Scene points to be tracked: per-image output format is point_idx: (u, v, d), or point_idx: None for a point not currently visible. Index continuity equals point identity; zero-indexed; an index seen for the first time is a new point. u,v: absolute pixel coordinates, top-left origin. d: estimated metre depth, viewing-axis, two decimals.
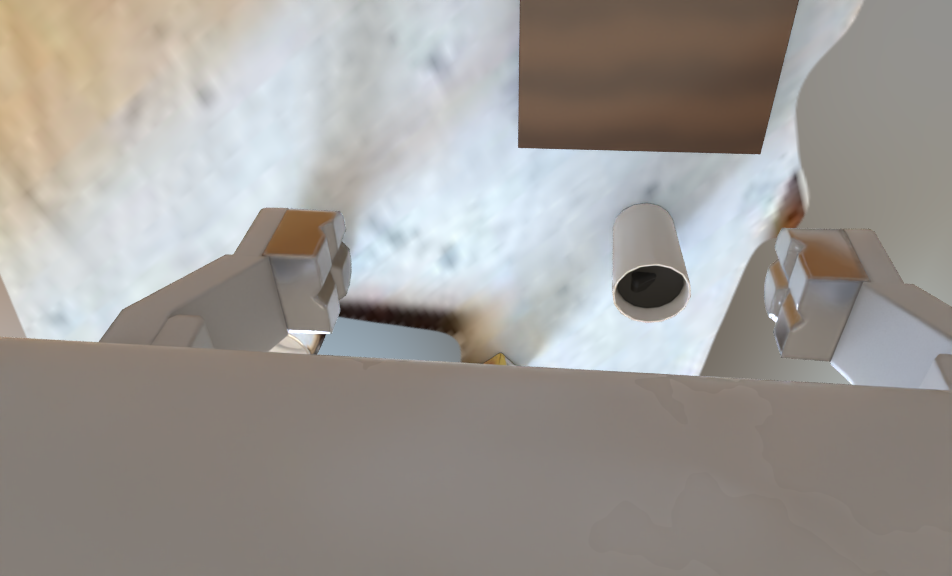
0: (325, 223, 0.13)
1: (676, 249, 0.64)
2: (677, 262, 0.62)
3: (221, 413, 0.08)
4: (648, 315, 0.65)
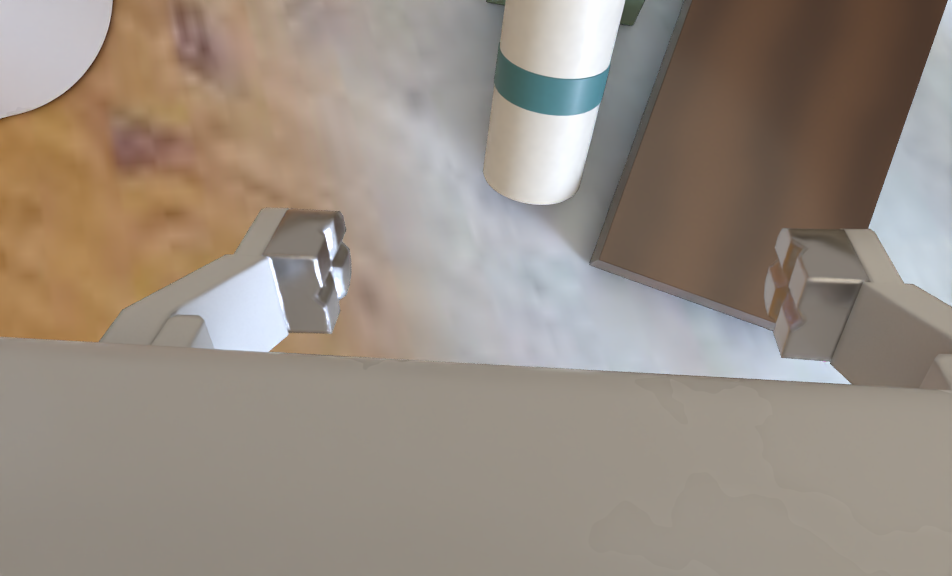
0: (325, 223, 0.13)
1: None
2: None
3: (221, 413, 0.08)
4: None
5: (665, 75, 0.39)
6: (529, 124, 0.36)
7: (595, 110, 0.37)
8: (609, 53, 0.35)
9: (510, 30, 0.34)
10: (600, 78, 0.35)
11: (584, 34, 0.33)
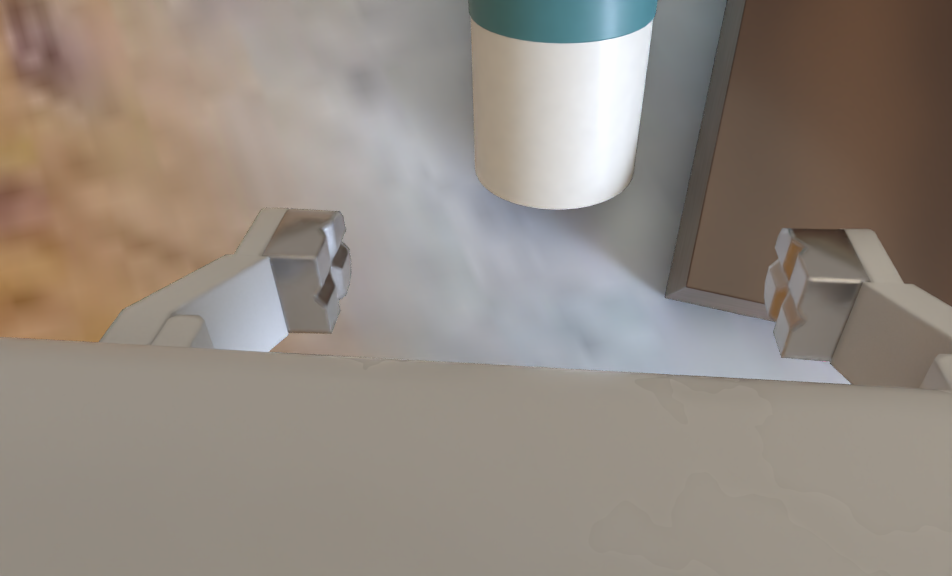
0: (325, 223, 0.13)
1: None
2: None
3: (221, 413, 0.08)
4: None
5: None
6: (537, 66, 0.21)
7: (647, 32, 0.21)
8: None
9: None
10: None
11: None
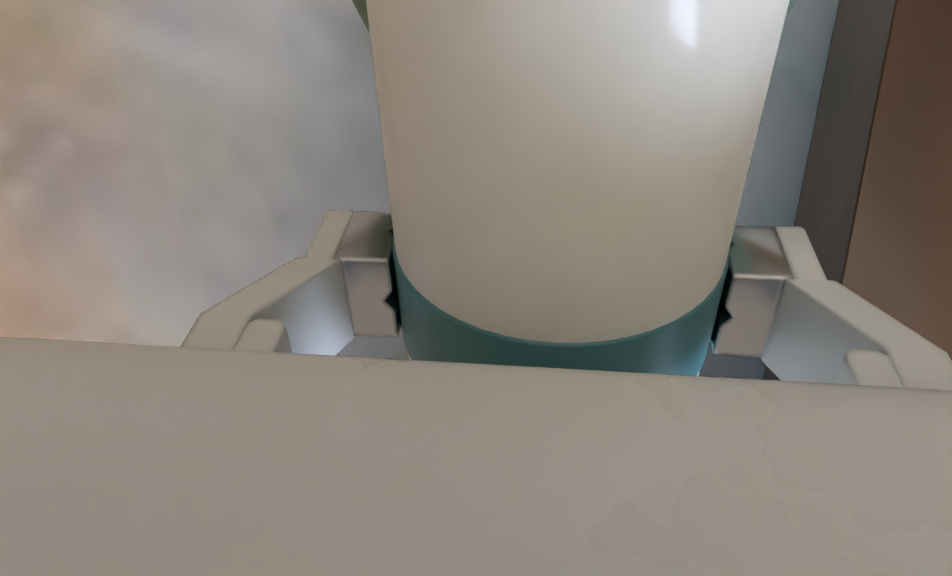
0: None
1: None
2: None
3: (221, 413, 0.08)
4: None
5: (852, 225, 0.15)
6: None
7: None
8: (731, 231, 0.11)
9: (402, 207, 0.11)
10: (711, 303, 0.11)
11: (652, 206, 0.09)
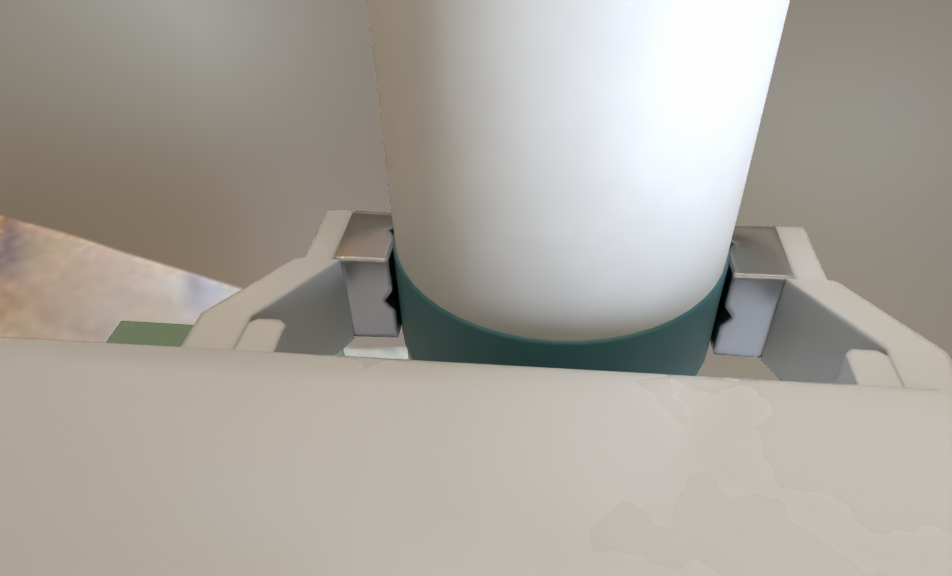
0: None
1: None
2: None
3: (221, 413, 0.08)
4: None
5: None
6: None
7: (696, 375, 0.13)
8: (732, 229, 0.11)
9: (402, 205, 0.11)
10: (711, 301, 0.11)
11: (653, 203, 0.09)
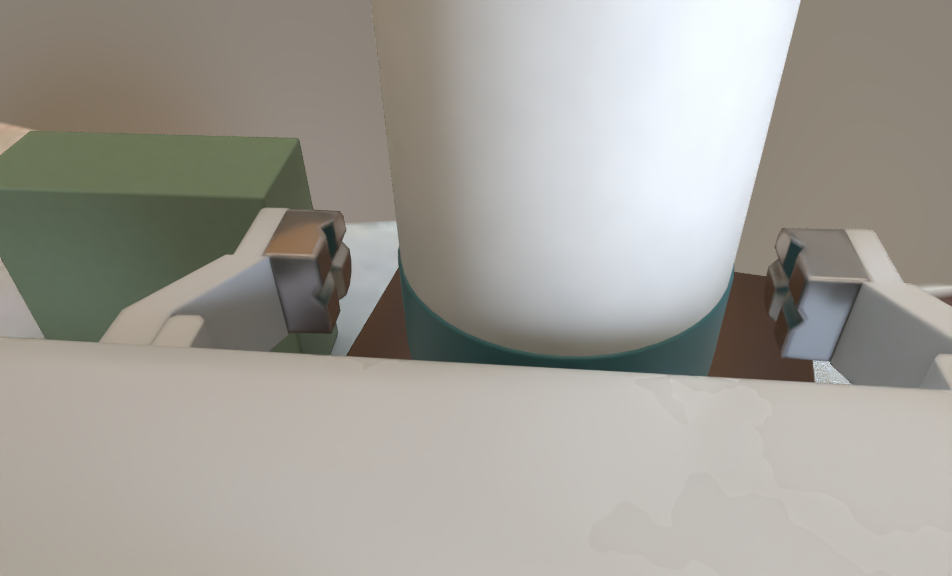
0: (325, 222, 0.13)
1: None
2: None
3: (221, 413, 0.08)
4: None
5: None
6: None
7: None
8: (737, 244, 0.11)
9: (408, 220, 0.11)
10: (716, 314, 0.11)
11: (660, 222, 0.09)
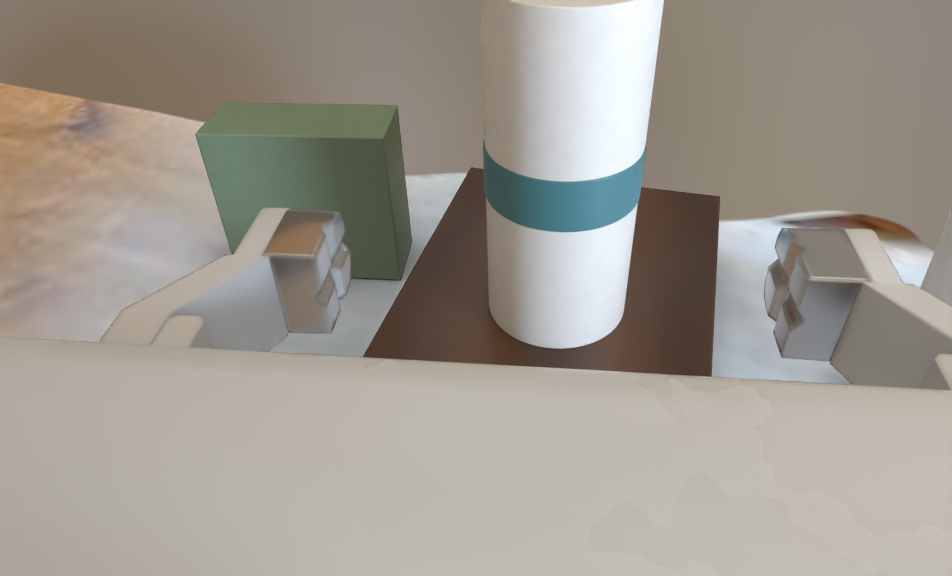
0: (325, 223, 0.13)
1: None
2: None
3: (221, 413, 0.08)
4: None
5: (413, 270, 0.32)
6: (541, 247, 0.25)
7: (632, 213, 0.26)
8: (643, 134, 0.24)
9: (494, 122, 0.24)
10: (635, 169, 0.24)
11: (603, 116, 0.22)
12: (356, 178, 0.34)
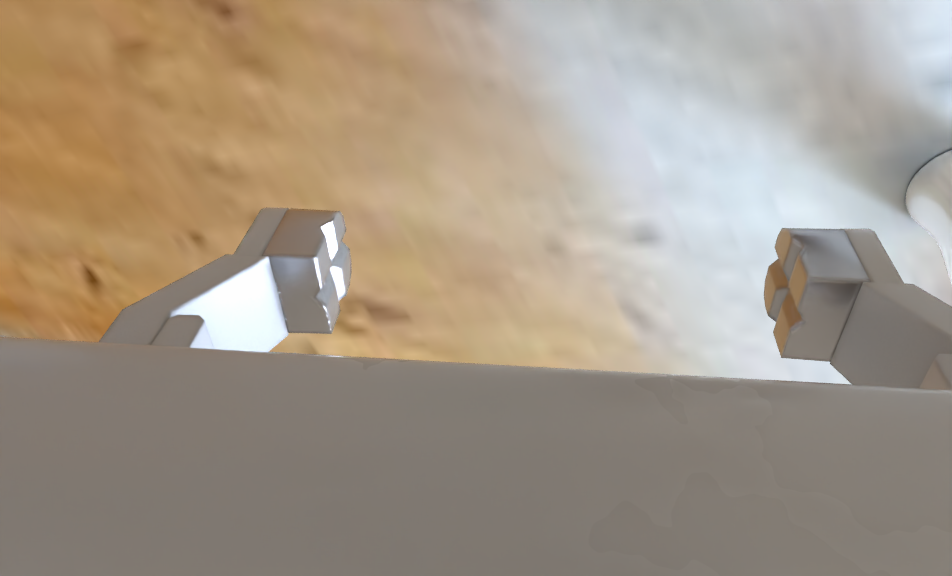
0: (325, 223, 0.13)
1: None
2: None
3: (221, 413, 0.08)
4: None
5: None
6: None
7: None
8: None
9: None
10: None
11: None
12: None
